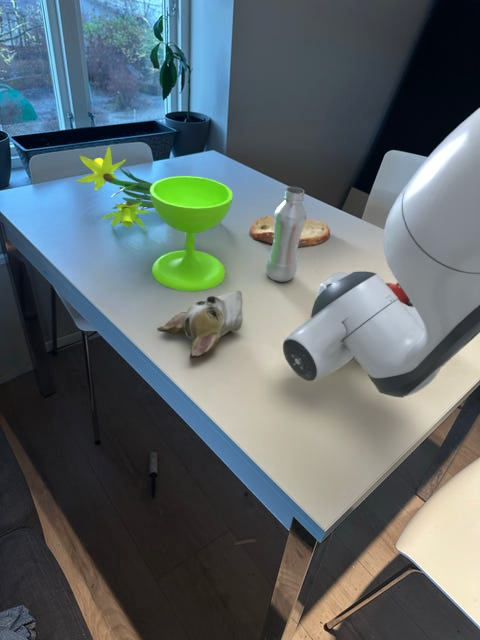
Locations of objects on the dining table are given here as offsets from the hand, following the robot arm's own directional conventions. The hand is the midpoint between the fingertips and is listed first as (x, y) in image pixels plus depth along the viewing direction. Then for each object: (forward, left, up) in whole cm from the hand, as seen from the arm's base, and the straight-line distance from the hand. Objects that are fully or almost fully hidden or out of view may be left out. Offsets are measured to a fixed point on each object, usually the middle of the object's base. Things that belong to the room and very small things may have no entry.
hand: (398, 293), depth 83 cm
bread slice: (+34, -21, -8) cm, 41 cm away
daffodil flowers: (+65, -2, -8) cm, 65 cm away
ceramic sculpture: (+24, +26, -8) cm, 36 cm away
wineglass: (+41, +11, -8) cm, 43 cm away
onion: (0, +1, -5) cm, 5 cm away
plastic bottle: (+25, -1, -8) cm, 27 cm away
